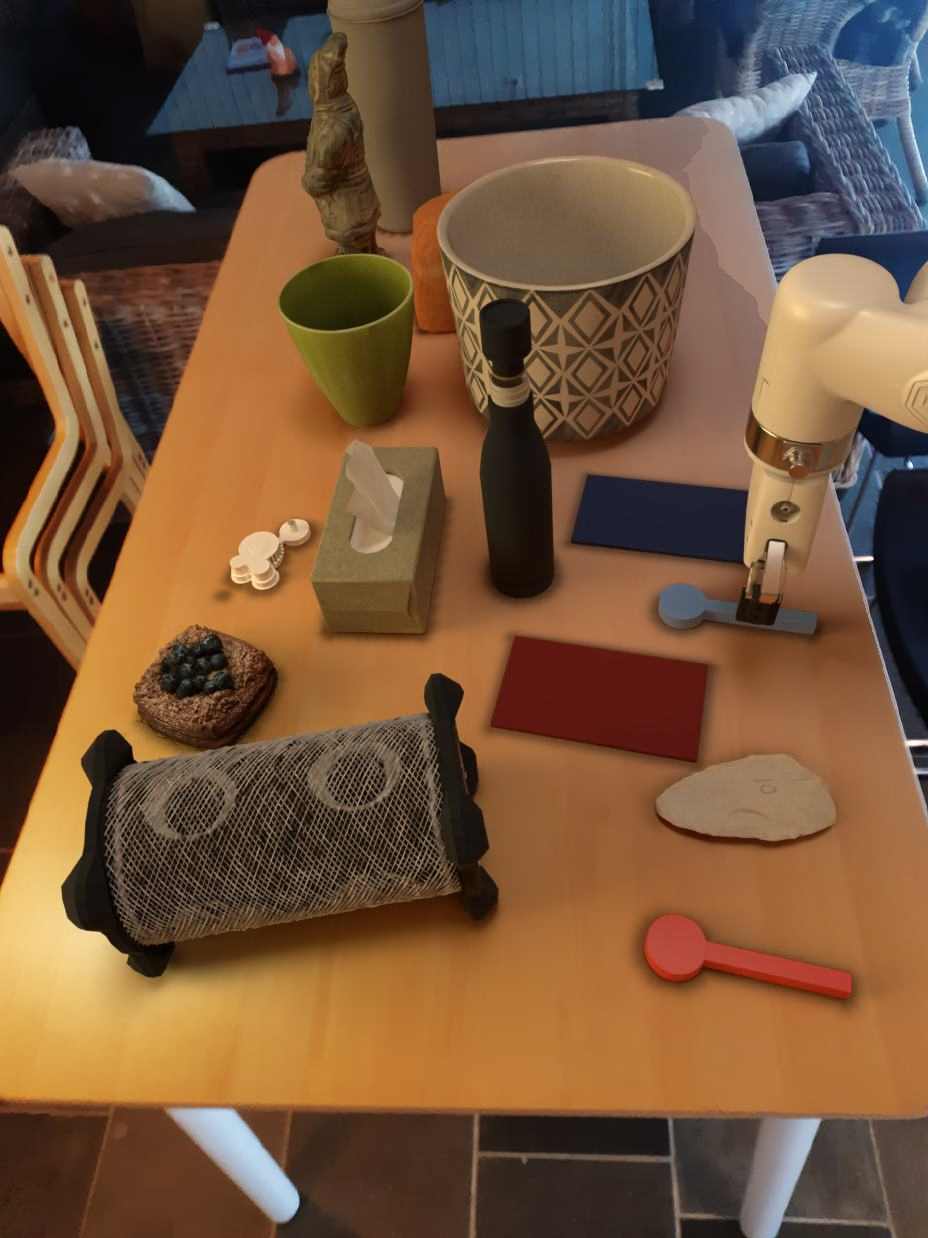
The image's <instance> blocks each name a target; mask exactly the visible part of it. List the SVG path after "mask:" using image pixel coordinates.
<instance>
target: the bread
mask: <svg viewBox="0 0 928 1238" xmlns="http://www.w3.org/2000/svg"><path fill="white" fill-rule="evenodd" d="M465 187H466V186H464V187H461V188H458V189H455V190H452V191H449V192H446V193H443V194H442V195H441V196H438V197H435V198H432V199H430V200H429V201H428V202H426V203H425V204H423V205H422V206H421V207H419V208H418V210H417V211H416V212H415V213H414V214H413V231H412V233H411V234H412V235H411V236H412V239H411V245H410V253H409V258H410V268H411V269H410V270H411V275H412V277H413V281H414V313H415V315H416V320H417V325H418V328H419V329H421V330H424V331H428V332H434V333H439V332H448V331H456V329H455V324H454V319H453V314H452V309H451V303H450V298H449V293H448V288H447V283H446V278H445V273H444V268H443V263H442V258H441V253H440V247H439V242H438V237H437V225H438V221H439V218H440V215H441V213H442V211H443V209H444V208H445V206H446V205H447V204H448V202H449V201H450V200H451V199H452V198H453V197H454V196H455V195H456V194H457V193H458V192H460V191H461V190H462V189H463V188H465Z"/></svg>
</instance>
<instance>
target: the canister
mask: <svg viewBox="0 0 928 1238" xmlns="http://www.w3.org/2000/svg"><path fill="white" fill-rule="evenodd" d="M424 1H425V0H327V8H326V14H327V15H328V17H329V21H330V26H331V29H332V31H331V32H332V34H333V33H335V32H344V33H345V34H346V36H347V43H348V46H347V50H346V52H345V53H346V54H345V59H344V60H345V64H346V65H345V70H346V73H347V77H348V88H347V92H348V93H349V94H350V95H351V97H352V98H353V101H354V102H355V103H356V105H357V107H358V110H359V113H360V117H361V120H362V121H363V125H364V131H363V138H364V145H365V148H364V150H365V155H364V156H365V160H366V163H367V166H368V170H369V174H370V176H371V179H372V183H373V186H374V189H375V192H376V195H377V197H378V199H379V201H380V204H381V207H380V210H381V216H380V218H379V219H378V221H377V225H376V226H378V227H379V228H381V229H383V230H385V231H389V232H393V233H407V232H409V233H410V232H413V214H414V213H415V212H416V211H417V210H418V208H419V207H421V206H422V205H423V204H425V203H426V202H428V201H429V200H430V199H432V198H435V197H438V196H441V195H443V194H442V185H441V175H440V165H439V164H440V163H439V162H440V161H439V154H438V153H439V152H438V142H437V131H436V119H435V110H434V100H433V89H432V81H431V69H430V60H429V50H428V49H429V48H428V40H427V30H426V29H427V28H426V19H425V10H424V9H425V8H424Z"/></svg>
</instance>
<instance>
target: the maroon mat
mask: <svg viewBox="0 0 928 1238" xmlns="http://www.w3.org/2000/svg"><path fill="white" fill-rule="evenodd" d="M708 671H709V664H706V663H699V662H694V661H689V660H687V661H686V660H680V659H675V658H666V657H661V656H653V655H647V654H641V653H640V654H639V653H633V652H626V651H621V650H614V649H607V648H601V647H593V646H587V645H582V644H581V645H580V644H573V643H567V642H560V641H555V640H546V639H540V638H533V637H527V636H520V635H514V638H513V640H512V645H511V648H510V651H509V656H508V659H507V662H506V665H505V670H504V673H503V677H502V680H501V685H500V688H499V692H498V695H497V698H496V702H495V706H494V709H493V712H492V716H491V720H490V723H489V725H490V727H493V728H499V729H504V730H509V731H514V732H515V731H516V732H520V733H521V732H522V733H526V734H531V735H533V734H534V735H538V736H543V737H550V738H556V739H562V740H568V741H571V742H579V743H584V744H589V745H595V746H602V747H607V748H612V749H618V750H624V751H629V752H634V753H641V754H647V755H651V756H652V755H653V756H659V757H663V758H664V757H665V758H669V759H675V760H680V761H681V760H682V761H687V762H691V763H697V762H698V756H699V747H700V738H701V731H702V722H703V721H702V720H703V711H704V704H705V696H706V695H705V694H706V687H707V679H708Z"/></svg>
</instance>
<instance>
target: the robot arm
mask: <svg viewBox="0 0 928 1238" xmlns="http://www.w3.org/2000/svg"><path fill="white" fill-rule="evenodd" d="M865 409H868V410H869V411H872V412H874V413H876V414H878V415H880V416H882V417H885V418H886V419H888V420H890V421H893V422H894V423H897V424H899V425H902V426H904V427H906V428H909V429H911V430H914V431H917V432H921V433H923V434H928V260H927V261H926V262H925V263H924V264H923V265H922V266H921V268H919V270H918V272H917V273H916V274H915V276H914V278H913V280H912V282H911V284H910V286H909V288H908V290H907V292H906V295H905V297H904V299H903V301H902V299H901V297H900V289H899V286H898V283H897V281H896V279H895V278H894V276H893V275H892V273H891V272H889V271H888V270H887V269H886V268H885V267H884V266H882V265H880V264H879V263H877V262H875V261H873V260H871V259H869V258H865V257H863V256H859V255H855V254H848V253H826V254H825V253H824V254H820V255H815V256H812V257H808V258H806V259H804V260H802V261H800V262H798V263H796V264H795V265H794V266H792V267H791V268H789V270H788V271H787V272H786V273H785V274H784V275H783V276H782V278H781V280H780V282H779V284H778V285H777V288H776V291H775V294H774V298H773V302H772V307H771V312H770V315H769V321H768V325H767V330H766V335H765V340H764V344H763V349H762V353H761V357H760V362H759V367H758V372H757V376H756V380H755V385H754V390H753V394H752V399H751V403H750V407H749V411H748V416H747V422H746V425H745V431H744V435H743V446H744V449H745V451H746V453H747V455H748V457H749V458H750V459H751V460H752V461H753V466H752V469H751V470H752V471H751V476H750V481H749V482H750V483H749V488H748V491H749V493H748V501H747V511H746V524H745V529H744V537H745V542H744V563H745V564H744V565H745V566H746V567H747V568H748V569H749V571H748V577H747V583H746V586H742V588H741V592H740V597H739V600H738V602H737V603H738V607H737V611H736V617H735V619H736V620H737V621H740V622H746V623H750V624H756V625H767V626H772V625H774V623H775V620H776V617H777V614H778V611H779V608H781V605H782V601H783V599H784V588H785V581H786V577H787V572H788V574H789V575H796V576H800V575H802V574H803V573H804V572H805V571H806V569H807V565H808V561H809V558H810V554H811V550H812V547H813V544H814V540H815V536H816V533H817V529H818V526H819V522H820V519H821V514H822V512H823V507H824V502H825V498H826V495H827V488H828V484H829V480H830V474H831V473H833V472H835V471H836V470H838V469H839V468H840V467H841V466H843V464H844V463H845V461H846V460H847V458H848V455H849V452H850V450H851V447H852V444H853V441H854V438H855V436H856V433H857V430H858V427H859V424H860V421H861V419H862V415H863V413H864V410H865ZM764 554H765V558H764V559H761V558H762V557H763V556H764ZM758 570H763V572H762V573H763V574H762V579H761V583H760V584H756V582H757V581H756V580H757V575H758Z"/></svg>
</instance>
